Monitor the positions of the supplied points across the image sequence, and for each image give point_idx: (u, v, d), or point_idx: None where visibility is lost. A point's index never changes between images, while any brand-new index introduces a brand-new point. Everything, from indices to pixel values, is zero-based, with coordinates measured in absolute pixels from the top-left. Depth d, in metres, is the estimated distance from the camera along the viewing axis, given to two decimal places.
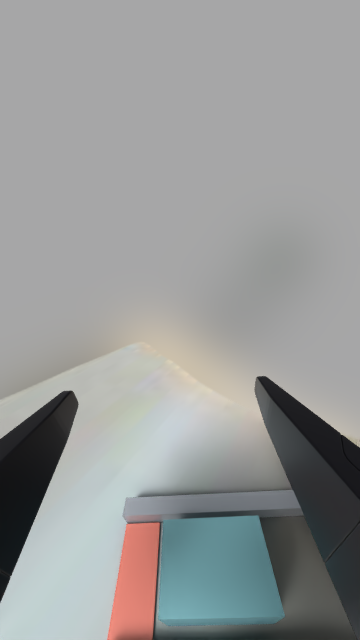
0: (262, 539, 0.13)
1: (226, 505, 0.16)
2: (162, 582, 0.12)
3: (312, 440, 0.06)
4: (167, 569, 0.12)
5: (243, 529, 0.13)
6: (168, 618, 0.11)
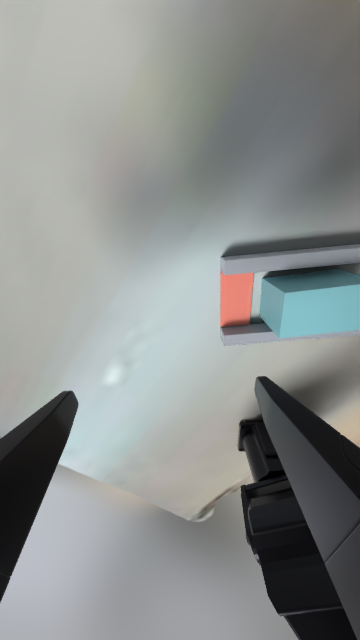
0: None
1: (334, 260, 0.16)
2: (282, 325, 0.15)
3: (312, 440, 0.06)
4: (287, 319, 0.15)
5: None
6: (285, 337, 0.16)
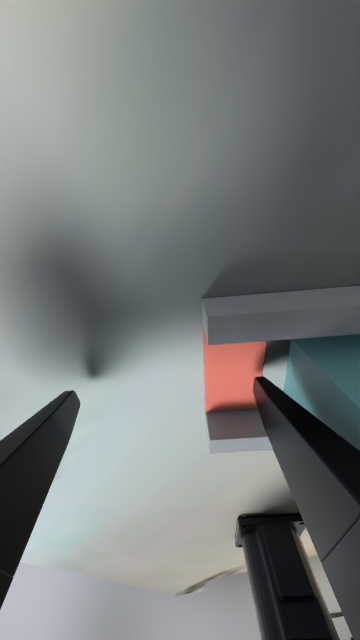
0: None
1: None
2: None
3: (309, 440, 0.06)
4: None
5: None
6: None
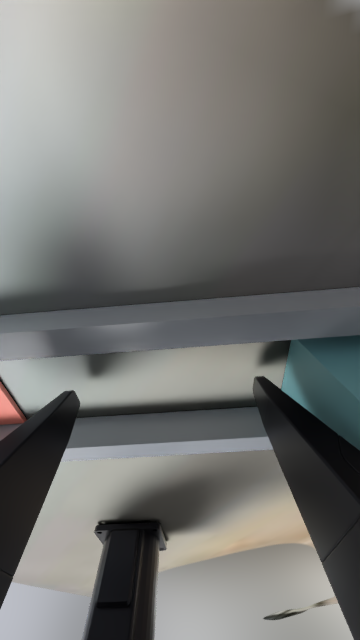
0: None
1: (73, 348, 0.07)
2: None
3: (309, 440, 0.06)
4: None
5: None
6: None
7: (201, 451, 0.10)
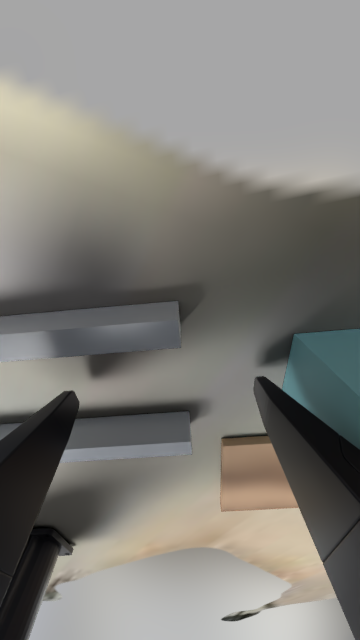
0: None
1: None
2: None
3: (310, 440, 0.06)
4: None
5: None
6: None
7: None
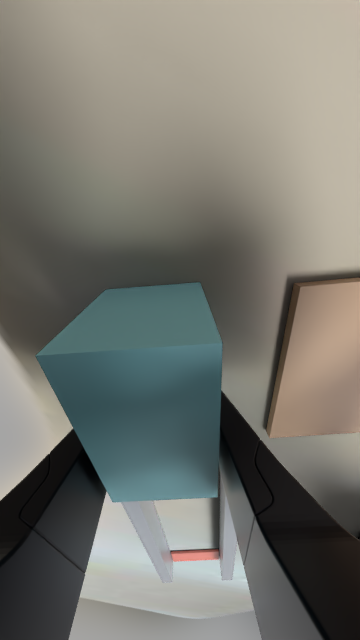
0: (91, 358, 0.04)
1: (159, 559, 0.19)
2: (184, 496, 0.07)
3: (229, 445, 0.06)
4: (171, 494, 0.07)
5: (84, 395, 0.05)
6: (216, 488, 0.07)
7: (235, 539, 0.17)
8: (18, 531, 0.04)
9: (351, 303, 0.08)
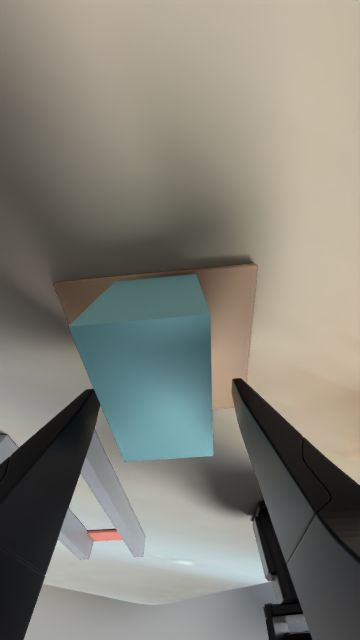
0: (110, 327, 0.05)
1: (60, 534, 0.21)
2: (185, 455, 0.08)
3: (273, 443, 0.06)
4: (173, 453, 0.08)
5: (103, 360, 0.06)
6: (212, 447, 0.08)
7: (116, 512, 0.19)
8: None
9: None
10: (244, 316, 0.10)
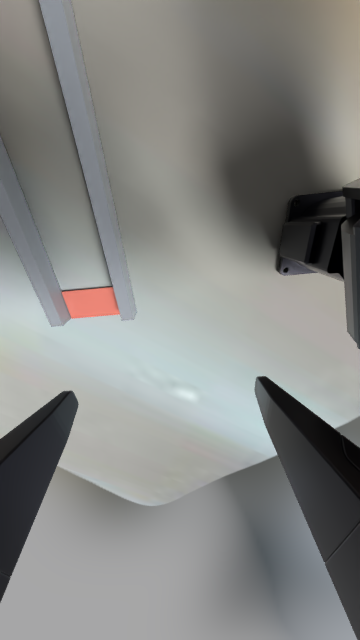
0: None
1: (16, 227, 0.15)
2: None
3: (312, 440, 0.06)
4: None
5: None
6: None
7: (90, 139, 0.13)
8: None
9: None
10: None
